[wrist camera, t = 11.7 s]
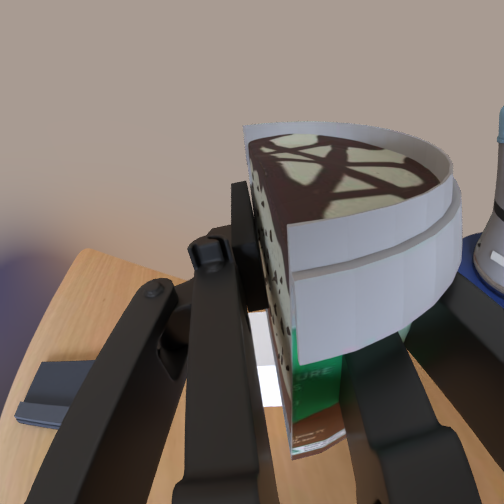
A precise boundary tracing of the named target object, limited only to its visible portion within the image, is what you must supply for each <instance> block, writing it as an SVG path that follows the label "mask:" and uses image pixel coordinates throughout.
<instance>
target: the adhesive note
mask: <svg viewBox="0 0 504 504" xmlns="http://www.w3.org/2000/svg"><path fill="white" fill-rule="evenodd" d="M248 315H249V319H250V324H251V330H252V337H253V343H254V350H255V356H256V363H257V369H258V376H259V382H260V388H261V395H262V401H263V407H265V406H282V402H281V396H280V390H279V384H278V379H277V373H276V367H275V361H274V356H273V350H272V344H271V338H270V333H269V327H268V321H267V315H266V312H256V313H248Z"/></svg>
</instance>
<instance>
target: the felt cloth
mask: <svg viewBox="0 0 504 504" xmlns="http://www.w3.org/2000/svg"><path fill="white" fill-rule="evenodd" d="M94 362H95V360H86V361H61V362H42V363H41V365H40V367H39V369H38V371H37V373H36V375H35V377H34V380H33V382H32V384H31V386H30V388H29V391H28V393H27V395H26V398H25V400H24V402H20V403H19V406H18V408H17V411H16V413H15V415H14V417H15V418H16V420H17V421H18V422H19V423H23V424H29V425H34V426H40V427H46V428H52V429H59V427H60V425H61V423H62V421H63V419H64V417H65V415H66V413H67V411H68V409H69V407H70V406H71V404H72V402H73V400H74V398H75V396H76V394H77V392H78V391H79V389H80V387H81V385H82V383H83V381H84V380H85V378H86V376H87V374H88V372H89V371H90V369H91V367H92V365H93V363H94Z"/></svg>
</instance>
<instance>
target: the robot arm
mask: <svg viewBox="0 0 504 504" xmlns="http://www.w3.org/2000/svg"><path fill="white" fill-rule="evenodd" d="M497 142H498V143H499V150H498V170H497V181H496V190H495V199H494V208H493V212H492V215H491V217H490V219H489V221H488V223H487V225H486V227H485V229H484V231H483V233H482V235H481V238H480V239H479V240H478V242H477V244H476V246H475V250H474V255H473V261H472V265H473V269H474V272H475V274H476V276H477V278H478V279H479V280H480V282H481V283H482V284H483V285H484V286H485V287H486V288H487V289H488V290H489V291H491V292H492V293H493V294H495V295H496V296H498V297H500V298H501V299H503V300H504V106H503V107H502V109H501V111H500V115H499V136H498V137H497ZM188 253H189V255H190V258H191V261H192V264H193V267H194V270H195V272H194V277H193V278H192V279H190V280H189V281H186V282H184V283H182V284H179V285H177V286H174V285H173V283H172V281H171V280H169V279H167V278H159V279H153V280H152V281H151V280H150V281H148V282H147V283H146V284H144V285H143V286H141V287H140V288H139V290H138V291H137V292H136V294H135V295H134V297H133V298H132V300H131V302H130V303H129V305H128V306H127V308H126V310H125V311H124V313H123V314H122V316H121V318H120V319H119V321H118V323H117V324H116V326H115V328H114V329H113V331H112V333H111V334H110V336H109V338H108V339H107V341H106V343H105V344H104V346H103V348H102V349H101V351H100V353H99V355H98V356H97V358H96V360H95V362H94V363H93V365H92V367H91V369H90V371H89V372H88V374H87V376H86V378H85V380H84V381H83V383H82V385H81V387H80V389H79V391H78V392H77V394H76V396H75V398H74V400H73V402H72V404H71V406H70V407H69V409H68V411H67V413H66V415H65V417H64V419H63V421H62V423H61V425H60V427H59V429H58V431H57V433H56V435H55V437H54V439H53V441H52V443H51V446H50V448H49V450H48V452H47V454H46V456H45V458H44V461H43V463H42V465H41V467H40V469H39V472H38V474H37V476H36V478H35V481H34V483H33V485H32V488H31V490H30V493H29V495H28V497H27V500H26V502H25V503H24V504H146V503H147V500H148V496H149V493H150V490H151V487H152V483H153V480H154V477H155V474H156V471H157V467H158V464H159V461H160V458H161V455H162V452H163V449H164V445H165V442H166V439H167V436H168V433H169V430H170V427H171V424H172V421H173V418H174V415H175V412H176V409H177V406H178V402H179V399H180V396H181V393H182V390H183V387H184V384H185V381H186V378H187V386H186V412H185V469H184V476H183V479H182V480H181V481H179V482H178V483H177V484H176V485H175V487H174V490H173V494H172V504H280V502H279V498H278V492H277V486H276V480H275V474H274V468H273V462H272V456H271V450H270V444H269V438H268V432H267V426H266V420H265V414H264V407H263V401H262V395H261V388H260V382H259V376H258V369H257V363H256V356H255V350H254V343H253V337H252V330H251V324H250V319H249V315H248V312H247V308H248V311H249V312H252V311H257V310H263V309H268V308H269V302H268V296H267V290H266V283H265V277H264V271H263V265H262V259H261V253H260V247H259V241H258V236H257V231H256V226H255V220H254V215H253V210H252V206H251V201H250V196H249V192H248V187H247V183H246V181H243V182H237V183H233V184H231V225H227V226H222V227H217V228H213V229H211V231H210V232H209V233H208V234H207V235H206V236H203V237H200V238H198V239H196V240H194V241H193V242H192V243H191V244H190V245H189V247H188ZM406 348H407V349H406ZM407 350H408V351H409V352H410V353H411V354H412V355H413V357H414V358H415V359H416V360H417V361H418V363H419V364H420V365H421V366H422V367H423V369H424V370H425V371H426V372H427V374H428V375H429V376H430V377H431V378H432V380H433V381H434V382H435V383H436V385H437V386H438V387H439V388H440V390H441V391H442V392H443V393H444V395H445V396H446V397H447V398H448V400H449V401H450V402H451V403H452V405H453V406H454V407H455V408H456V410H457V411H458V412H459V414H460V415H461V416H462V417H463V419H464V420H465V421H466V423H467V424H468V425H469V427H470V428H471V429H472V430H473V432H474V433H475V434H476V436H477V437H478V438H479V440H480V441H481V443H482V444H483V445H484V447H485V448H486V449H487V451H488V452H489V453H490V455H491V456H492V458H493V459H494V460H495V462H496V463H497V464H498V465H499V467H500V468H501V469H502V470H503V471H504V309H503V308H502V307H501V306H500V305H499V304H497V303H496V302H495V301H494V300H493V299H491V298H490V297H489V296H488V295H487V294H485V293H484V292H483V291H482V290H480V289H479V288H478V287H477V286H475V285H474V284H473V283H472V282H470V281H469V280H468V279H467V278H465V277H464V276H463V275H461V274H460V273H459V272H457V273H456V275H455V277H454V280H453V282H452V283H451V285H450V286H449V287H448V288H447V290H446V291H445V292H444V294H443V295H442V296H441V297H440V298H439V300H438V301H437V302H436V303H435V304H434V305H433V306H432V307H431V308H430V309H428V310H427V311H426V312H424V313H423V314H422V315H421V316H419V317H418V318H417V319H415V320H414V321H413V322H412V324H411V329H410V331H409V332H408V333H407V336H406V338H405V341H404V343H403V341H402V339H401V337H400V335H399V333H398V331H397V332H395V333H393V334H391V335H389V336H387V337H385V338H383V339H381V340H379V341H377V342H374V343H372V344H370V345H368V346H366V347H364V348H361V349H359V350H357V351H354V352H350V353H347V354H343V355H342V368H341V380H340V391H339V404H340V409H341V413H342V418H343V422H344V427H345V431H346V436H347V441H348V445H349V450H350V455H351V460H352V465H353V470H354V475H355V481H356V497H357V504H482V502H481V499H480V496H479V493H478V489H477V486H476V483H475V480H474V477H473V474H472V471H471V468H470V465H469V463H468V460H467V457H466V454H465V452H464V449H463V446H462V444H461V441H460V439H459V437H458V436H457V434H456V432H455V431H454V430H453V429H452V428H451V427H447V426H442V425H441V424H440V423H439V422H438V420H437V418H436V416H435V413H434V411H433V408H432V406H431V404H430V401H429V399H428V396H427V394H426V392H425V389H424V387H423V385H422V382H421V380H420V378H419V376H418V373H417V371H416V369H415V367H414V364H413V362H412V360H411V358H410V356H409V354H408V351H407Z"/></svg>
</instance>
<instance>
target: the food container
mask: <svg viewBox="0 0 504 504" xmlns="http://www.w3.org/2000/svg"><path fill="white" fill-rule="evenodd" d="M243 132H244V142H245V150H246V158H247V165H248V171H249V180H250V188H251V195H252V203H253V212H254V220H255V226H256V231H257V236H258V241H259V247H260V253H261V259H262V265H263V271H264V277H265V283H266V290H267V296H268V302H269V308H268V309H265V310H266V315H267V321H268V327H269V333H270V338H271V344H272V350H273V356H274V361H275V367H276V373H277V379H278V384H279V390H280V396H281V402H282V407H283V413H284V419H285V425H286V431H287V436H288V442H289V448H290V454H291V460H296V459H300V458H304V457H308V456H311V455H315V454H319V453H322V452H323V451H325V450H327V449H329V448H330V447H332V446H334V445H335V444H337V443H339V442H340V441H342V440H344V439H345V438H347V436H346V431H345V427H344V422H343V418H342V413H341V409H340V404H339V391H340V380H341V368H342V355H343V354H347V353H350V352H354V351H357V350H359V349H361V348H364V347H366V346H368V345H370V344H372V343H374V342H377V341H379V340H381V339H383V338H385V337H387V336H389V335H391V334H393V333H395V332H397V331H398V333H399V335H400V337H401V339H402V341H403V343H404V341H405V338H406V336H407V333H408V332H409V331H410V329H411V324H412V322H413V321H414V320H415V319H417V318H418V317H419V316H421V315H422V314H423V313H424V312H426V311H427V310H428V309H430V308H431V307H432V306H433V305H434V304H435V303H436V302H437V301H438V300H439V298H440V297H441V296H442V295H443V294H444V292H445V291H446V290H447V288H448V287H449V286H450V285H451V283H452V282H453V280H454V277H455V275H456V273H457V270H458V268H459V265H460V263H461V255H462V201H461V190H460V188H459V186H458V184H457V181H456V180H455V179H454V177H453V163H452V161H451V159H450V157H449V156H448V155H447V154H446V153H445V152H444V151H443V150H441V149H440V148H438V147H437V146H435V145H433V144H431V143H430V142H427V141H425V140H422V139H420V138H418V137H415V136H412V135H409V134H405V133H402V132H398V131H394V130H390V129H385V128H379V127H373V126H367V125H358V124H350V123H338V122H276V123H266V124H265V123H264V124H254V125H245V126H243Z"/></svg>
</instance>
